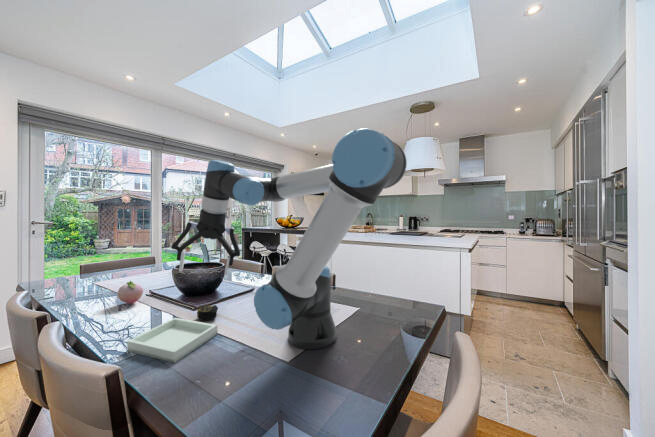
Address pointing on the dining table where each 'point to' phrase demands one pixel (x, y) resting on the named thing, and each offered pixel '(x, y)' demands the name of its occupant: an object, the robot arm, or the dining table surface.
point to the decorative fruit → (130, 292)
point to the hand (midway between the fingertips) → (203, 271)
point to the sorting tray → (172, 339)
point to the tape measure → (207, 312)
